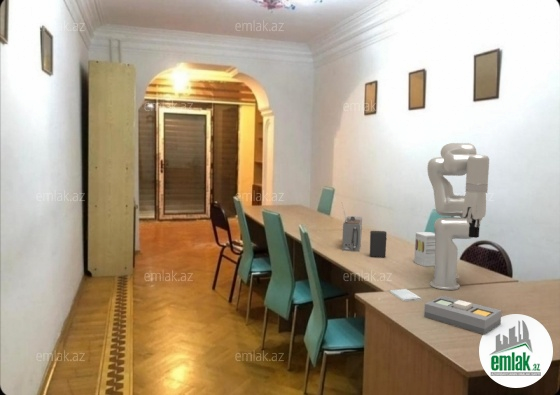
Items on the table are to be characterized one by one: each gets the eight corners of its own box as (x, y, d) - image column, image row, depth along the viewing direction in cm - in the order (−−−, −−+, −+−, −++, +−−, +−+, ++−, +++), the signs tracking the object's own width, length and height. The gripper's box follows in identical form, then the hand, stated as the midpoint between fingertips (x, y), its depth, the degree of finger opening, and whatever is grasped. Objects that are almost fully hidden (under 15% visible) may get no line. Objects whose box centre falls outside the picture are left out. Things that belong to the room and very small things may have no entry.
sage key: (440, 306, 173) (441, 299, 172) (452, 309, 169) (452, 303, 169) (434, 309, 170) (435, 302, 169) (446, 312, 166) (446, 305, 166)
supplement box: (413, 262, 249) (414, 232, 247) (427, 261, 252) (429, 231, 250) (424, 266, 240) (425, 235, 238) (438, 265, 243) (440, 234, 241)
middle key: (458, 306, 168) (459, 300, 167) (471, 309, 164) (471, 303, 164) (453, 309, 164) (453, 302, 164) (465, 312, 161) (466, 306, 161)
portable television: (361, 244, 296) (363, 198, 293) (359, 252, 273) (361, 202, 270) (343, 243, 299) (344, 197, 296) (339, 250, 276) (341, 201, 273)
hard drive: (389, 290, 196) (403, 298, 184) (406, 288, 198) (421, 297, 186) (389, 293, 197) (403, 302, 185) (406, 292, 198) (421, 301, 186)
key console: (442, 307, 177) (442, 295, 177) (500, 324, 162) (501, 310, 161) (424, 316, 168) (424, 303, 167) (484, 334, 152) (485, 320, 151)
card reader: (385, 256, 262) (386, 230, 261) (386, 258, 259) (387, 232, 257) (369, 255, 264) (370, 230, 262) (369, 257, 260) (370, 231, 259)
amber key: (477, 316, 163) (478, 309, 162) (490, 319, 159) (491, 313, 159) (472, 319, 160) (472, 312, 159) (485, 323, 156) (485, 316, 156)
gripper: (475, 186, 176) (472, 233, 178) (457, 188, 166) (454, 238, 168) (494, 188, 171) (491, 236, 173) (478, 190, 161) (475, 241, 163)
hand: (473, 236), depth 171 cm, fingers closed
